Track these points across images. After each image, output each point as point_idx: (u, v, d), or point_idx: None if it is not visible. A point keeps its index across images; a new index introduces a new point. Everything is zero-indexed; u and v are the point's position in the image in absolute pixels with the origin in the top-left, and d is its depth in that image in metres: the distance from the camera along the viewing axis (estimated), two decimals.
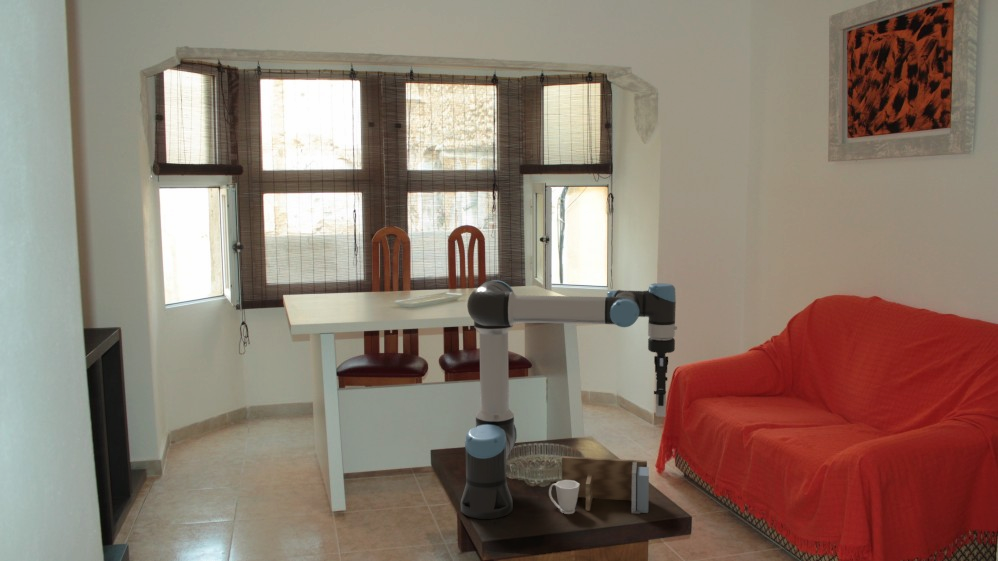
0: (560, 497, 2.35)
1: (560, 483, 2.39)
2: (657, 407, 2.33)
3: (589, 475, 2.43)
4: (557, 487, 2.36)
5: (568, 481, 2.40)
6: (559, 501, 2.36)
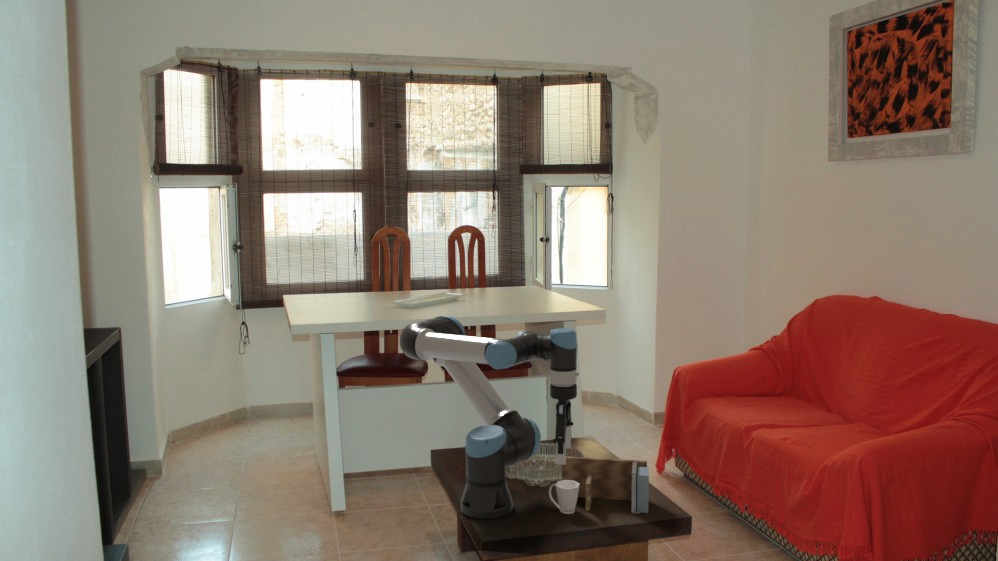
0: (560, 497, 2.35)
1: (560, 483, 2.39)
2: (557, 455, 2.29)
3: (589, 475, 2.43)
4: (557, 487, 2.36)
5: (568, 481, 2.40)
6: (559, 501, 2.36)
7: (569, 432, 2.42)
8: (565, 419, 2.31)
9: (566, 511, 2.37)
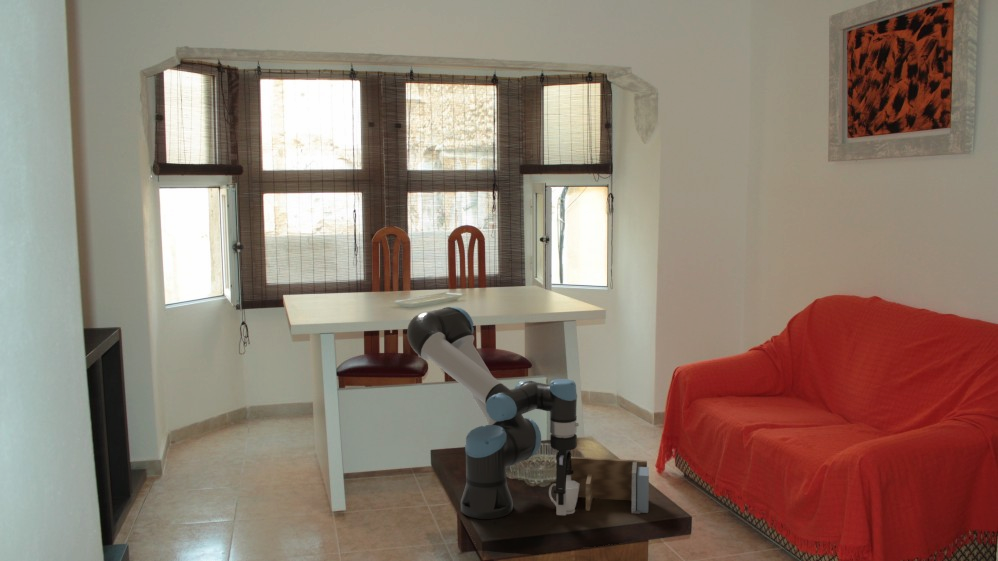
0: None
1: None
2: (557, 506, 2.31)
3: (589, 475, 2.43)
4: None
5: (568, 481, 2.40)
6: None
7: None
8: (565, 470, 2.32)
9: (566, 511, 2.37)
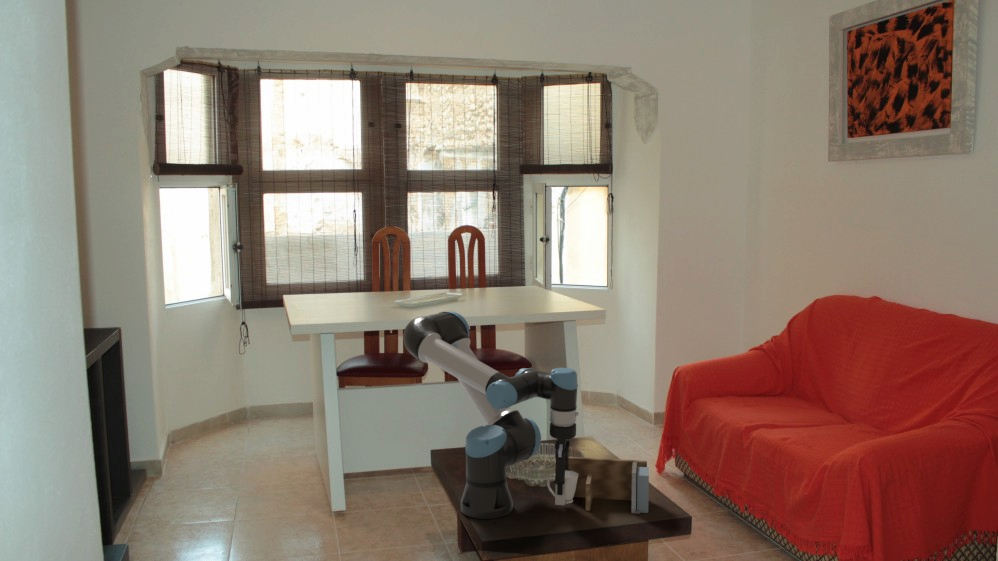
0: None
1: None
2: (556, 496, 2.35)
3: (589, 475, 2.43)
4: None
5: (567, 471, 2.40)
6: None
7: None
8: (564, 460, 2.34)
9: None
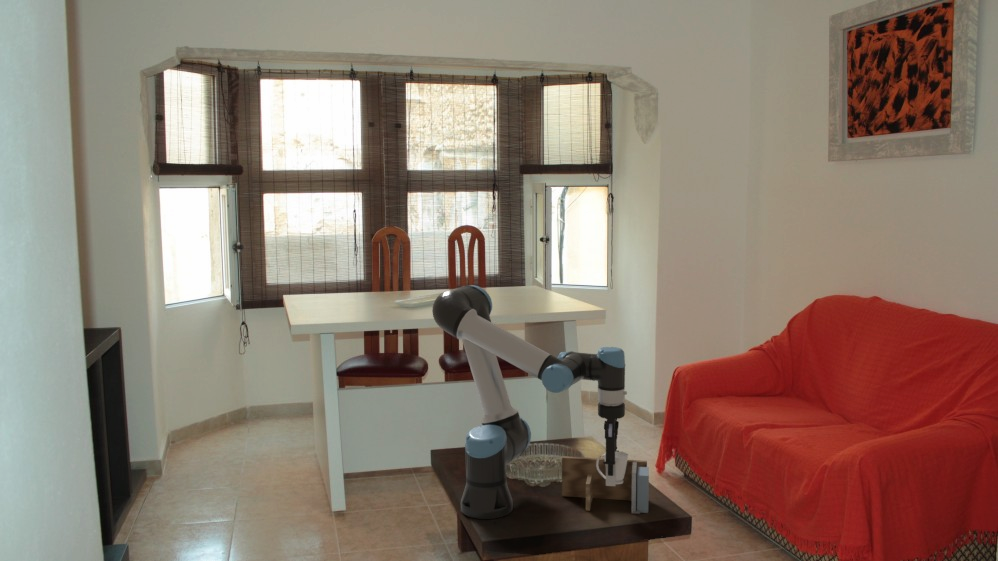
0: None
1: None
2: (607, 477, 2.32)
3: (589, 475, 2.43)
4: None
5: (616, 452, 2.38)
6: None
7: None
8: None
9: None
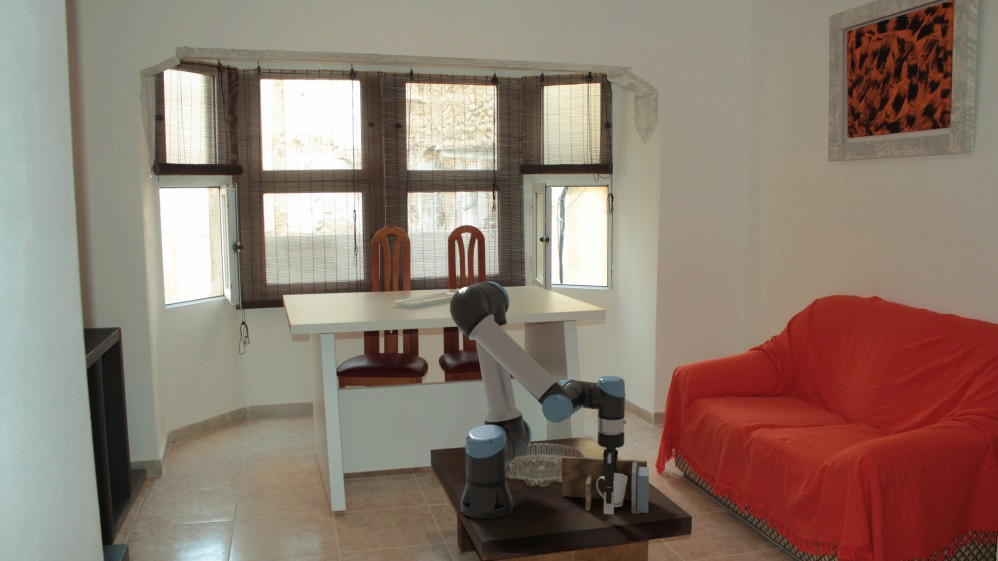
0: None
1: None
2: (605, 504, 2.30)
3: (589, 475, 2.43)
4: None
5: (615, 474, 2.40)
6: None
7: None
8: None
9: (614, 504, 2.38)
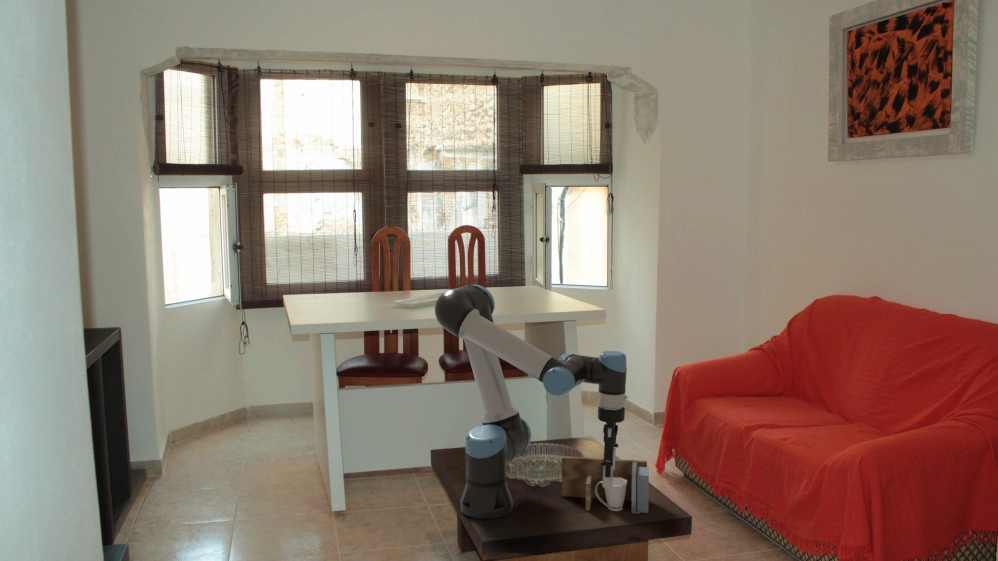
0: (610, 495, 2.37)
1: None
2: (604, 478, 2.29)
3: (589, 475, 2.43)
4: None
5: (614, 478, 2.41)
6: (608, 498, 2.38)
7: (614, 454, 2.41)
8: None
9: (614, 508, 2.38)
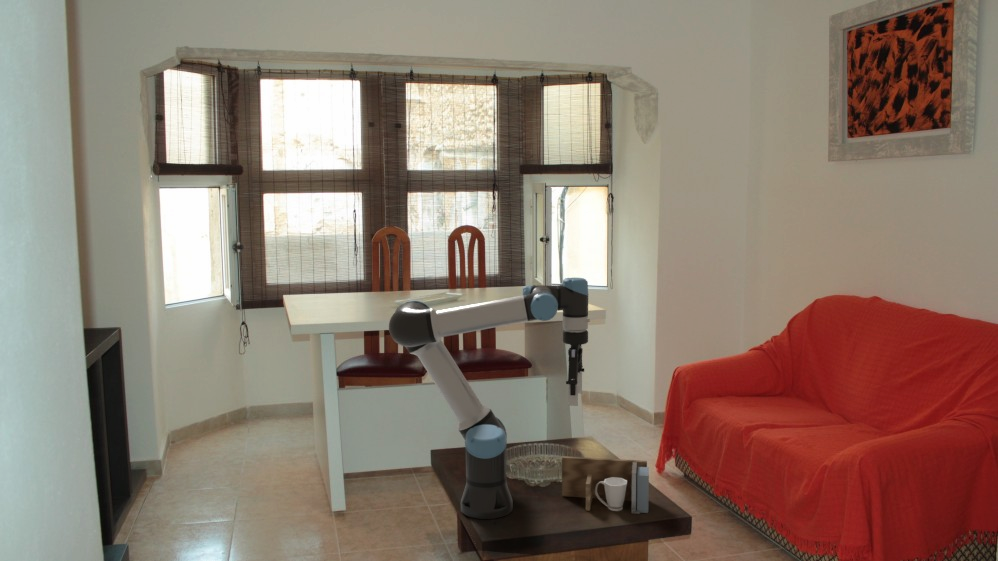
0: (610, 494, 2.37)
1: (607, 480, 2.41)
2: (569, 397, 2.42)
3: (589, 475, 2.43)
4: (606, 485, 2.37)
5: (614, 478, 2.41)
6: (608, 498, 2.38)
7: (580, 378, 2.55)
8: (577, 363, 2.43)
9: (614, 508, 2.38)
